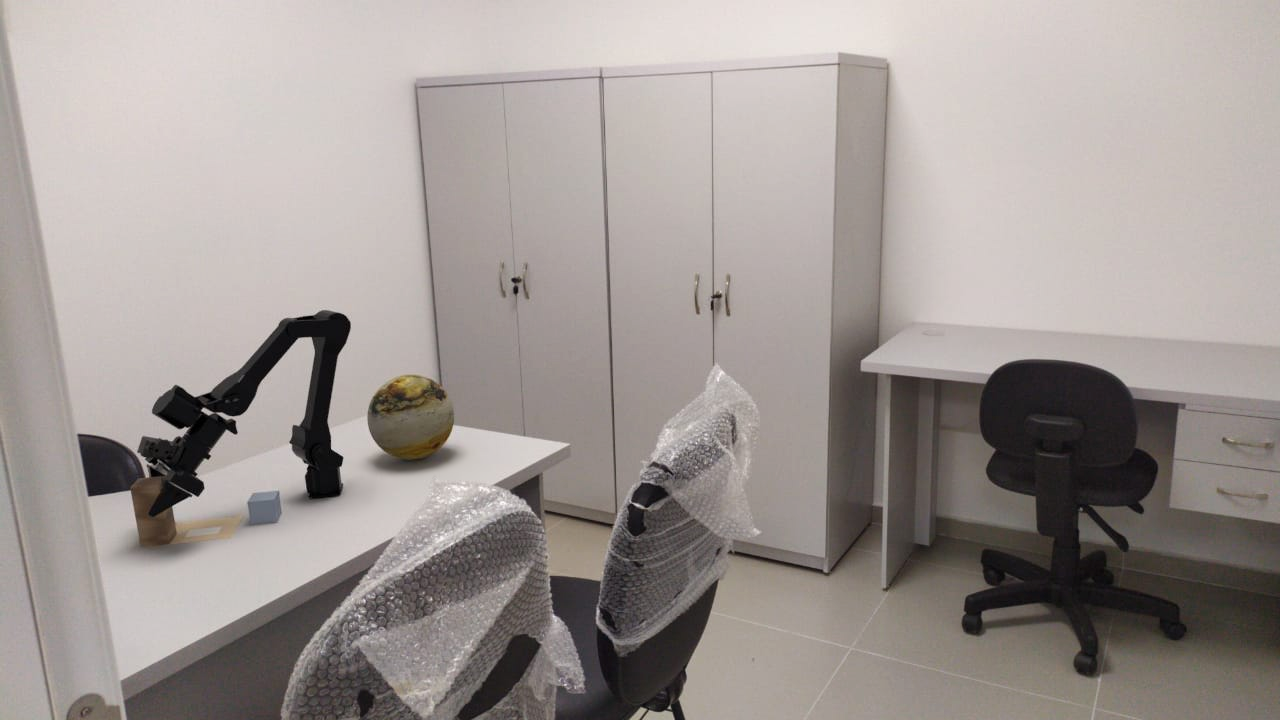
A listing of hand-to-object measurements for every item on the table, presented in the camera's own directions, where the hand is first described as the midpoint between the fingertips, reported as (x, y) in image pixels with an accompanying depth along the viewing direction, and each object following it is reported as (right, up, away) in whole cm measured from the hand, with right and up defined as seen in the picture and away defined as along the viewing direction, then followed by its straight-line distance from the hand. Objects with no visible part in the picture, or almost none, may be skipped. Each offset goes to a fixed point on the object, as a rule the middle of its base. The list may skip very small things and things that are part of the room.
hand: (145, 510), depth 174 cm
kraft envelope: (+6, -5, +6) cm, 10 cm away
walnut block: (+1, -6, +2) cm, 7 cm away
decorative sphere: (+40, +5, +45) cm, 60 cm away
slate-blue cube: (+18, -4, +11) cm, 22 cm away
